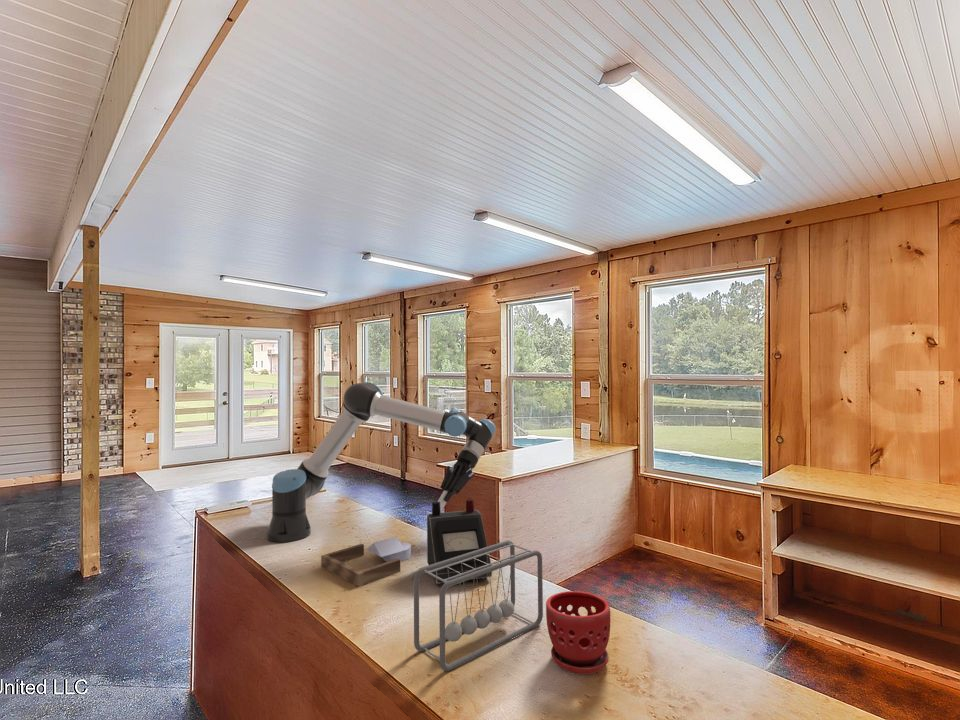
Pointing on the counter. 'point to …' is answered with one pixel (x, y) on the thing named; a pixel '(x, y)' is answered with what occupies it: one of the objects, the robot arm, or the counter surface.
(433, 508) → the voltmeter
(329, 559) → the walnut bay
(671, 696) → the counter surface
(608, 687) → the counter surface
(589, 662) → the plant pot
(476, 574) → the newton's cradle
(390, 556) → the wedge on round base
